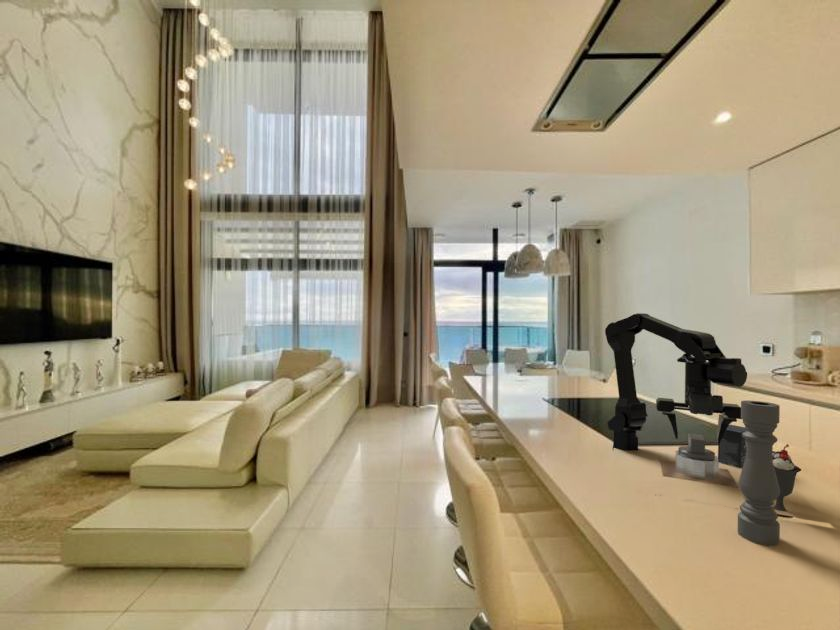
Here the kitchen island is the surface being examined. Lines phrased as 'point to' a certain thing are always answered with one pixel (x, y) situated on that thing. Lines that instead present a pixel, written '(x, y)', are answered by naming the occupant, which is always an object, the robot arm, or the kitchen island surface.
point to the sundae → (784, 477)
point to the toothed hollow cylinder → (697, 467)
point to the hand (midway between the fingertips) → (697, 441)
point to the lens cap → (696, 448)
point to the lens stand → (723, 478)
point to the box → (732, 447)
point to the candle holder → (759, 474)
